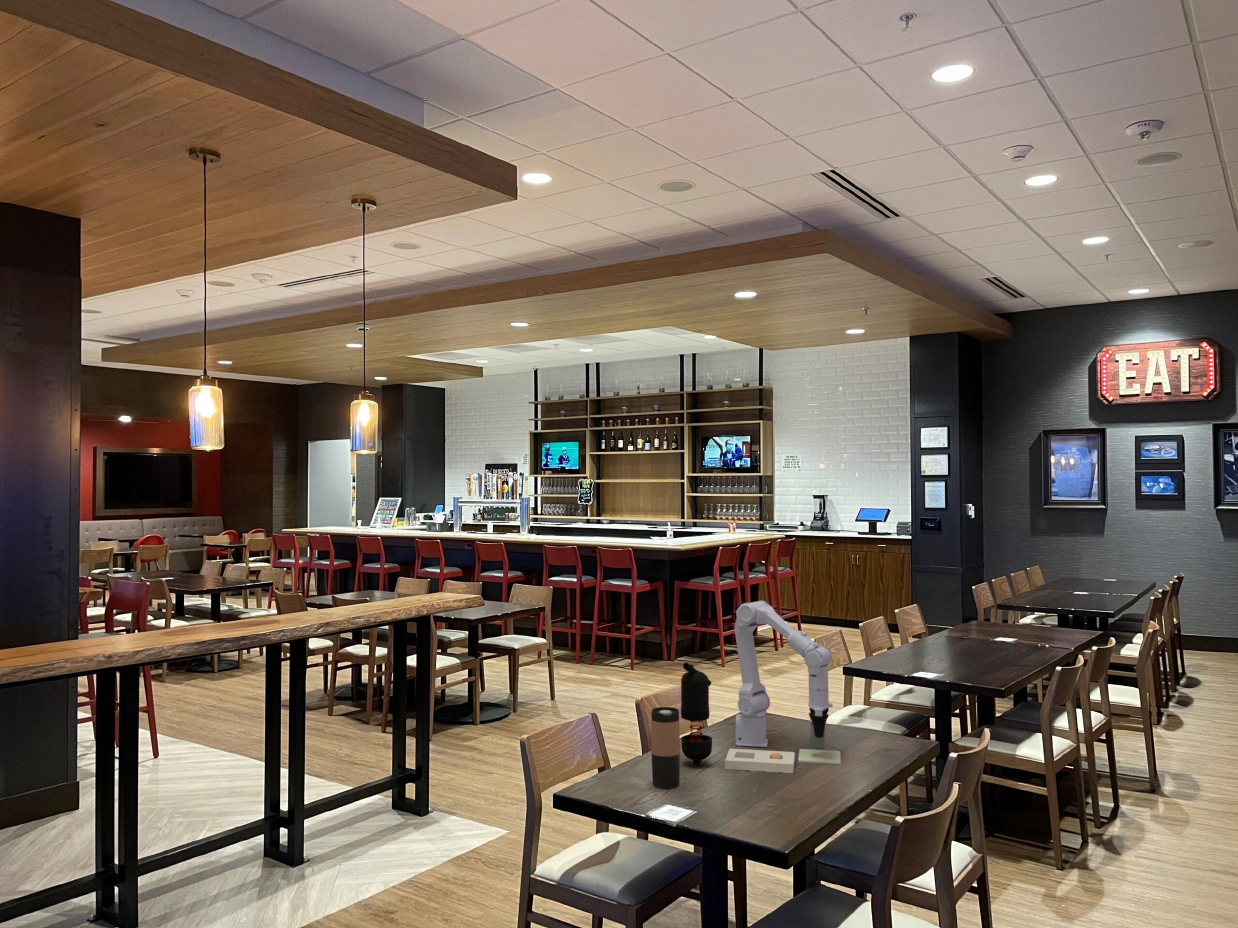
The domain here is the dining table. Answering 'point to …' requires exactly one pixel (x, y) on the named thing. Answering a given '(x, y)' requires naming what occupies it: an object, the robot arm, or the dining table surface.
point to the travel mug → (665, 747)
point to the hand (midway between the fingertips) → (819, 734)
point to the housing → (759, 761)
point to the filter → (695, 713)
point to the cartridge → (814, 740)
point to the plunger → (775, 756)
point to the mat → (819, 756)
